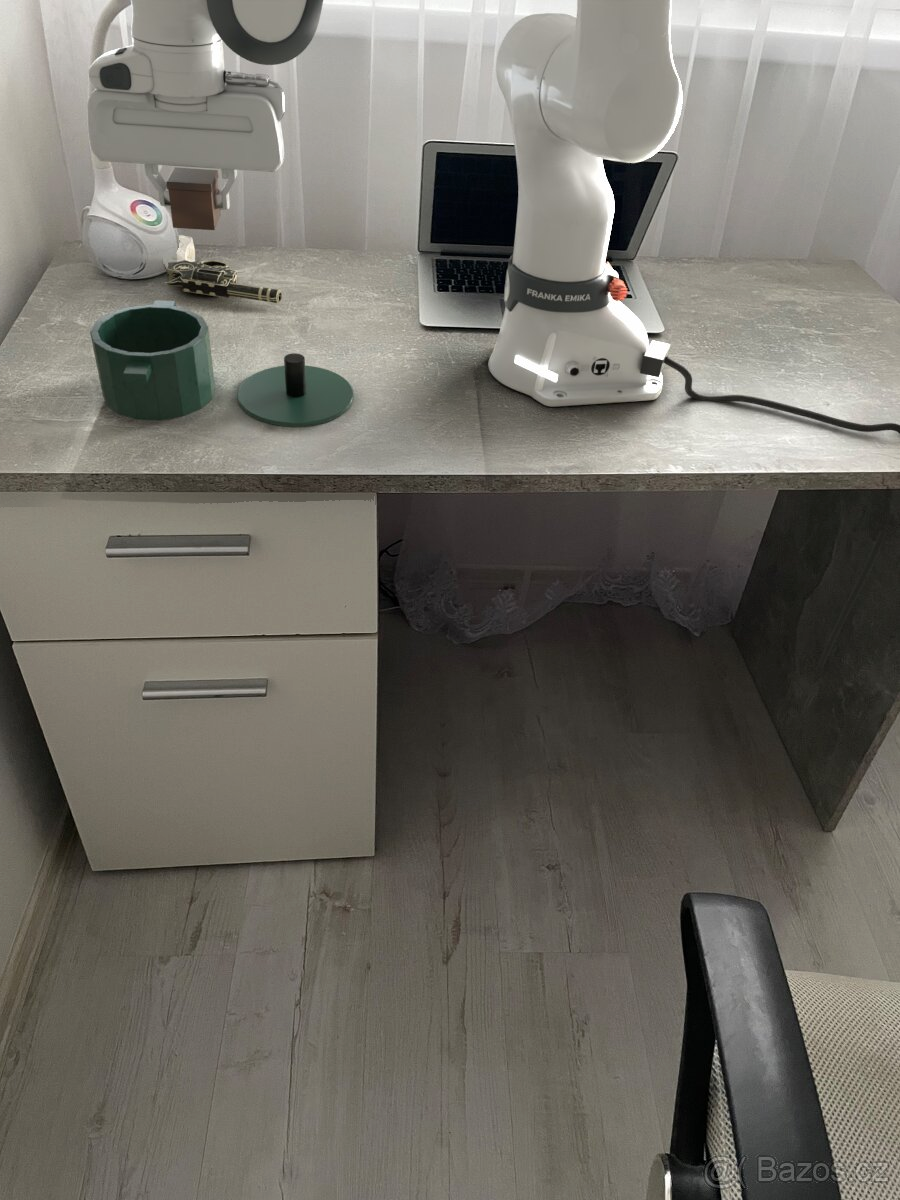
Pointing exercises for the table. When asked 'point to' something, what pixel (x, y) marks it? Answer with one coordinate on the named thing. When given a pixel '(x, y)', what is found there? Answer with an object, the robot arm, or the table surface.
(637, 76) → the robot arm
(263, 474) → the table surface
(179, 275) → the revolver
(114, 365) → the pot
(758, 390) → the table surface
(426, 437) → the table surface
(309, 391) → the pot lid
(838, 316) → the table surface
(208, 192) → the walnut box
